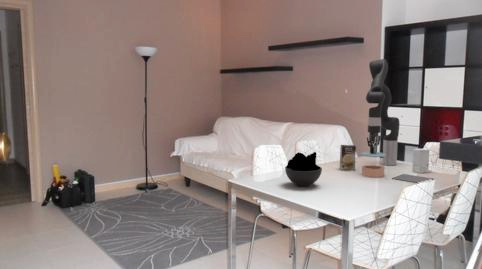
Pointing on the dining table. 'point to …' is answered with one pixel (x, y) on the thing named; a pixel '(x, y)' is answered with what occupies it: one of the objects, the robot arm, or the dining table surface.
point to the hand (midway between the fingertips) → (373, 152)
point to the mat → (411, 178)
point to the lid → (375, 154)
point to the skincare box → (420, 160)
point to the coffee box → (347, 157)
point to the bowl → (372, 171)
